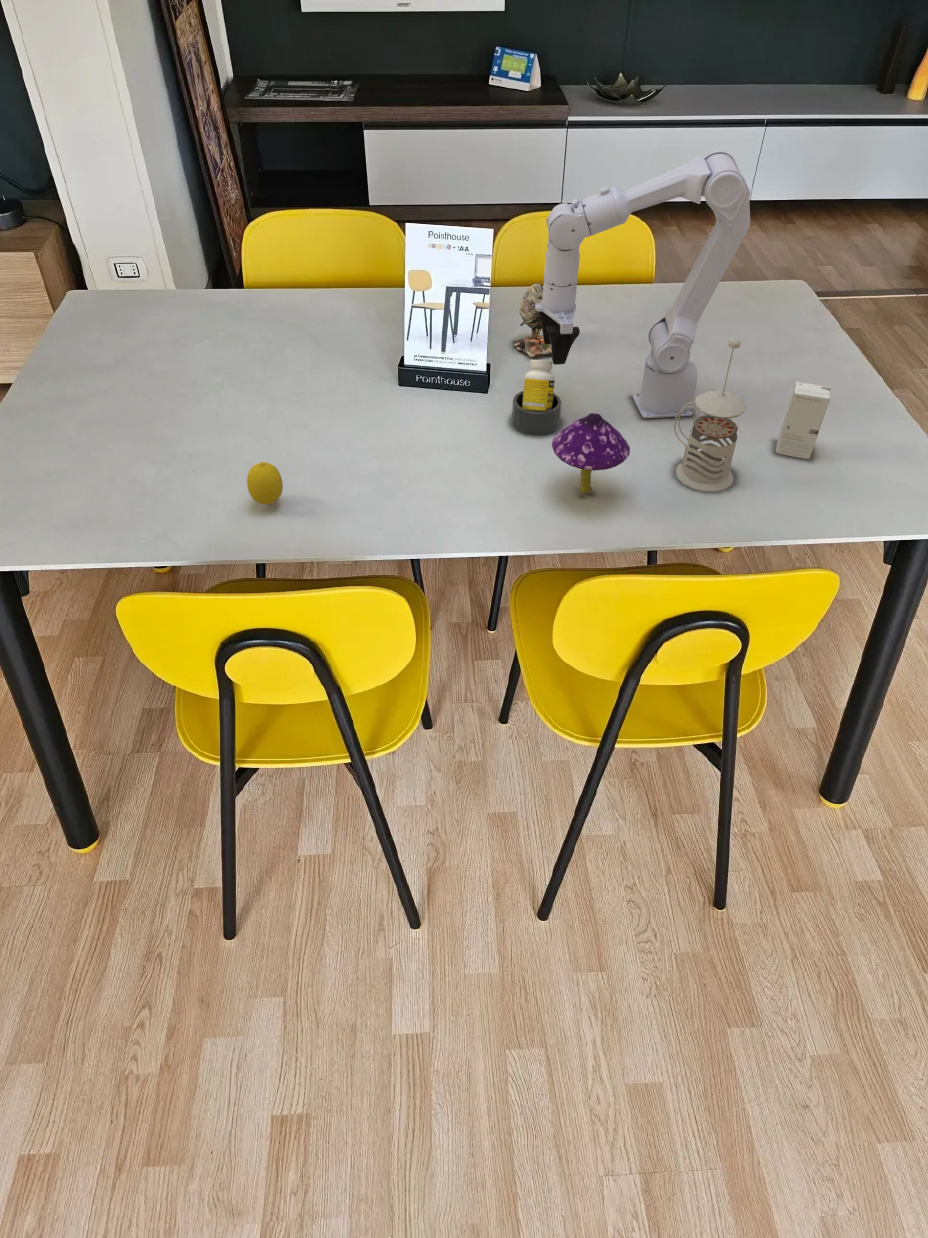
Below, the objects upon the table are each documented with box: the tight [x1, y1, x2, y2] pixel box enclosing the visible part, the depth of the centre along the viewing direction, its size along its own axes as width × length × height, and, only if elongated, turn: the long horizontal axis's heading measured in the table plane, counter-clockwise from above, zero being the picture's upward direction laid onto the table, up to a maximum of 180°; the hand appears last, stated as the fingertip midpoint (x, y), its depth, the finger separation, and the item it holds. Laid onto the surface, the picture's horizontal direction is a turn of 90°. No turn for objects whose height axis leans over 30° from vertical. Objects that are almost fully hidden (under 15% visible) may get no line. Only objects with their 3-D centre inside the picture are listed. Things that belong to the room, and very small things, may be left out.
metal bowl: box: [511, 390, 562, 436], centre depth 171 cm, size 9×9×4 cm
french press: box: [673, 337, 747, 492], centre depth 153 cm, size 10×12×25 cm
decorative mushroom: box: [551, 412, 631, 495], centre depth 152 cm, size 12×12×15 cm
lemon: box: [246, 461, 284, 506], centre depth 151 cm, size 6×6×8 cm
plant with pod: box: [512, 280, 552, 358], centre depth 188 cm, size 8×11×20 cm
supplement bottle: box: [522, 359, 556, 412], centre depth 170 cm, size 5×5×10 cm
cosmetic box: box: [775, 381, 832, 460], centre depth 164 cm, size 6×4×12 cm
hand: (554, 353), depth 171 cm, fingers open, 7 cm apart
